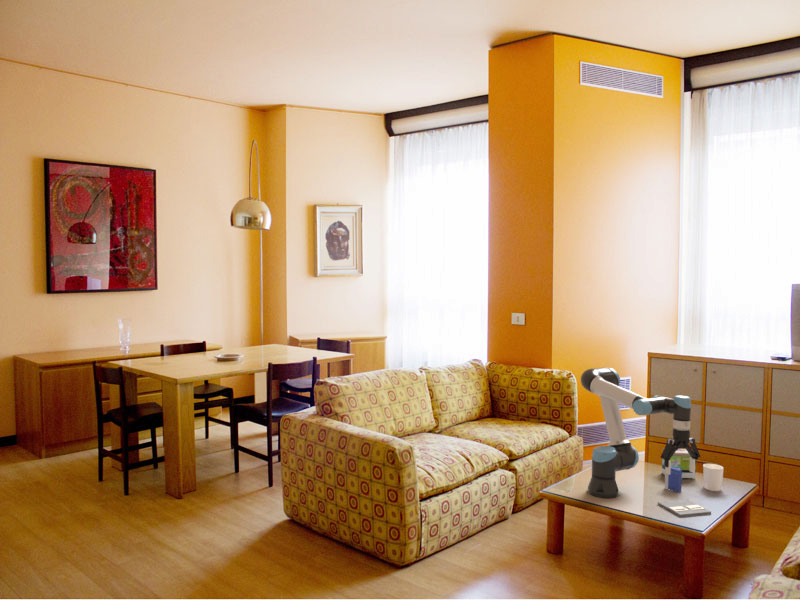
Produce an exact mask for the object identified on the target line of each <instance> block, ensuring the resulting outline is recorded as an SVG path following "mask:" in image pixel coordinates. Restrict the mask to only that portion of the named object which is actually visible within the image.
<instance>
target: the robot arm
mask: <svg viewBox="0 0 800 600" xmlns="http://www.w3.org/2000/svg"><path fill="white" fill-rule="evenodd" d="M620 383H621V378H620V375H619V373H618V372H617V371H616V370H615V369H614V368H612V367H605V366H603V367H596V368H588V369H586V370H584V371H583V373H582V374H581V376H580V384H581V386H582V387H583V388H584V389H585V390H586V391H588V392H589V393H591V394H595V395H596V396H598V397H599V399H600V404H601V409H602V413H603V417H604V421H605V427H606V429H607V434H608V438H609V443H608V444H607V445H599V446H596V447H594V448H593V449H592V454H591V477H590V481H589V483H588V486H587V492H588V494H590V495H591V496H594V497H599V498H602V497H603V498H602V499H614V498H617V497H619V493H620V492H619V487H618V483H617V481H616V472H620V471H624V470H625V471H626V470H630V469H633V468H635V467H636V466H637V464H638V463H639V459H640V458H639V457H640V456H639V455H640V454H639V452H638V450H637V448H635V446H633V445H632V442H631V441H630V440H628V438H627V435H626V431H625V426H624V422H623V418H622V414H621V410H620V406H619V404H620V405H621V404H622V405H623V406H626V407H627V408H629V409H632V410H633V413H634V412H635V414H636V415H638V416H647V415H653V414H655V415H656V414H663V413H665V414H670V415H672V417H673V418H672V427H673V428H672V438H673V439H670V438H667V439H666V444H665V447H664V450H663V449H662V453H661V456H660V458H661V460H662V459H664V466H665V473H666V474H669V475H670V471H671V461H670V458H671V457H672V456H673V454H674V453H675V452H676V450H678V449H686V450H687V451H688V453H689V454H690V456H691V457H692V458H690V470H689V471H690V472H693V473H695V465H696V466H697V460H699V458H701V453H700V452H699V449H698V447H697V444H696V439H695V438H694V437H691V416H692V415H691V413H692V399H691V397H690V396H688V395H675V396H673V398H671V397H667V396H663V395H656V394H655V395H653V396H652V397H650V398H647V397H645V396H642V395H640V394H637V393H635V392H633V391H630V390H628V389H626V388H624V387H621V386H620Z"/></svg>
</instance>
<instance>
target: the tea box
mask: <svg viewBox="0 0 800 600" xmlns="http://www.w3.org/2000/svg"><path fill="white" fill-rule="evenodd" d="M664 448H665V447H664ZM664 448H662V451H663V450H664ZM690 458H692V457H691V456H690V454H689V453H688V451H687V450H686V449H685V448H681V449H678V450H676V452H675V453H674V454H673V456H672V457H671V458H670V461H671V467H674V468H679V469H681V470H682V478H693V479H692V480H695V479H696V472H697V464H696V465H695V473H693V472H690V471H689V470H690ZM661 460H662V461H661V474H662V473H663V474H662V475H664V476H665V466H664V459H662V458H661Z"/></svg>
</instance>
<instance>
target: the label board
mask: <svg viewBox="0 0 800 600" xmlns="http://www.w3.org/2000/svg"><path fill="white" fill-rule="evenodd" d="M657 505H658V506H659V505H660V506H659V507H661V506H662V507H661V508H663V507H664V508H663V509H665V510H667V511H668V510H669V511H668V512H671V513H672V514H674V515H675V516H678V517H680V518H685V517H694V516H695V517H696V516H705V515H707V514H708V515H711V514H712V511H711V510H709V509H707V508H705V507H703V506H700V505H699V504H696V503H695V502H693V501H690V500H689V499H679V500H677V499H676V500H669V501H658V502H657ZM708 515H707V516H708Z"/></svg>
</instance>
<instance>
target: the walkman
mask: <svg viewBox="0 0 800 600" xmlns="http://www.w3.org/2000/svg"><path fill="white" fill-rule="evenodd" d="M682 484H683V483H682V470H681V469H679V468H674V467H671V471H670V475H669V474H666V473H665V475H664V489H665V488H667V489H666V490H668V489H670V490H669V491H671V490H673V491H672V492H675V493H678V492H679V493H681V492H682Z"/></svg>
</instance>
